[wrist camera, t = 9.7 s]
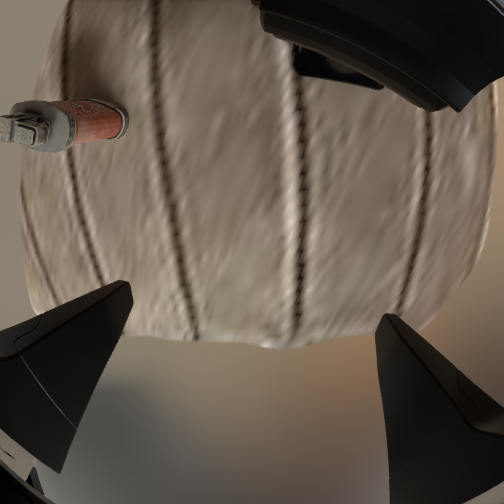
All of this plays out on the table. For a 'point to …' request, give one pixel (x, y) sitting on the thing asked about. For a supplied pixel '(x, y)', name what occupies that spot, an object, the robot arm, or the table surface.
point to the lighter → (63, 123)
